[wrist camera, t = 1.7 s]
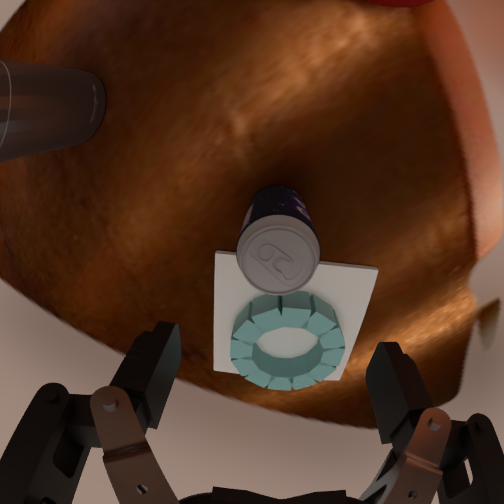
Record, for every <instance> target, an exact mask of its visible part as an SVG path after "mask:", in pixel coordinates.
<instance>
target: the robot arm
mask: <svg viewBox="0 0 504 504" xmlns="http://www.w3.org/2000/svg"><path fill="white" fill-rule="evenodd" d="M105 105H106V95H105V90H104V87H103V85H102V82H101V81H100V79H99V78H98V77H97V76H96V75H94V74H93V73H90V72H87V71H82V70H76V69H71V68H66V67H60V66H54V65H47V64H39V63H30V62H20V61H8V60H0V163H1V162H5V161H9V160H12V159H16V158H20V157H24V156H28V155H32V154H36V153H41V152H45V151H50V150H56V149H61V148H66V147H71V146H77V145H79V144H82V143H84V142H85V141H87V140H88V139H89V138H90V137H91V136H92V135H93V134H94V133H95V132H96V130H97V129H98V127H99V125H100V123H101V121H102V118H103V115H104V112H105ZM180 361H181V344H180V333H179V325H178V324H177V323H171V322H165V321H159V322H158V323H157V325H156V327H155V328H154V330H153V332H148V331H145V332H143V333H142V334H141V335H139V336H138V337H137V338H136V339H135V340H134V342H133V344H132V346H131V348H130V349H129V351H128V353H127V354H126V357H125V358H124V360H123V361H122V363H121V365H120V367H119V368H118V370H117V372H116V374H115V376H114V378H113V379H112V381H111V383H110V385H109V386H105V387H102V388H100V389H98V390H96V391H95V392H94V393H93V394H92V395H79V394H69V392H68V391H67V389H66V388H65V387H64V386H63V385H61V384H59V383H48V384H45V385H43V386H42V387H41V388H40V389H39V390H38V391H37V393H36V395H35V396H34V398H33V399H32V401H31V403H30V405H29V406H28V408H27V410H26V411H25V413H24V415H23V417H22V419H21V420H20V422H19V424H18V426H17V428H16V430H15V432H14V433H13V435H12V437H11V439H10V441H9V443H8V445H7V447H6V449H5V451H4V453H3V456H2V457H1V459H0V504H72V501H73V498H74V495H75V492H76V488H77V485H78V483H79V480H80V477H81V474H82V471H83V468H84V466H85V463H86V460H87V457H88V455H89V452H90V449H91V447H97V448H102V449H103V452H104V456H103V462H104V465H105V468H106V471H107V474H108V476H109V479H110V482H111V484H112V487H113V489H114V491H115V494H116V496H117V498H118V501H119V503H120V504H431V502H432V500H433V497H434V495H435V493H436V491H437V492H438V498H439V503H440V504H504V454H503V451H502V448H501V446H500V443H499V440H498V437H497V435H496V432H495V430H494V427H493V425H492V423H491V421H490V419H489V418H488V417H487V416H485V415H483V414H480V413H476V414H473V415H472V416H471V417H470V418H469V419H468V420H467V421H466V422H465V421H456V420H450V417H449V416H448V414H447V413H446V412H444V411H443V410H441V409H439V408H435V407H434V405H433V403H432V400H431V398H430V395H429V393H428V391H427V388H426V386H425V384H424V382H423V381H422V377H421V375H420V373H419V371H418V368H417V366H416V364H415V362H414V361H413V360H412V359H411V358H410V357H409V356H408V355H407V354H403V352H402V350H401V348H400V346H399V344H398V343H397V342H380V343H378V345H377V347H376V349H375V352H374V354H373V356H372V358H371V360H370V363H369V365H368V367H367V370H366V384H367V387H368V391H369V395H370V398H371V402H372V406H373V410H374V414H375V418H376V422H377V426H378V430H379V434H380V439H381V443H382V444H388V443H392V446H393V448H392V449H391V451H390V452H389V454H388V456H387V458H386V460H385V461H384V463H383V465H382V466H381V468H380V470H379V472H378V473H377V475H376V477H375V478H374V480H373V481H372V483H371V485H370V486H369V487H368V488H367V490H366V491H365V492H364V493H363V494H362V495H361V497H360V498H359V499H356V498H352V497H347V496H346V490H338V491H325V492H313V493H309V494H305V495H301V496H296V497H292V498H287V499H276V498H272V497H268V496H264V495H260V494H257V493H254V492H250V491H247V490H238V489H229V488H221V487H213V490H212V492H210V493H201V494H196V495H192V496H188V497H186V498H183V499H181V500H179V501H178V499H177V497H176V496H175V494H174V492H173V491H172V489H171V487H170V485H169V483H168V482H167V480H166V478H165V476H164V475H163V472H162V470H161V468H160V467H159V465H158V463H157V461H156V459H155V457H154V454H153V452H152V450H151V448H150V446H149V444H148V442H147V440H146V438H145V434H146V431H147V428H148V427H149V428H154V429H157V427H158V424H159V421H160V418H161V416H162V413H163V410H164V407H165V404H166V401H167V398H168V396H169V393H170V390H171V387H172V385H173V382H174V379H175V376H176V374H177V371H178V368H179V365H180ZM467 459H468V460H469V464H470V467H471V471H472V475H473V481H472V484H471V485H470V482H469V478H468V474H467V470H466V467H465V463H464V461H465V460H467Z"/></svg>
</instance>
